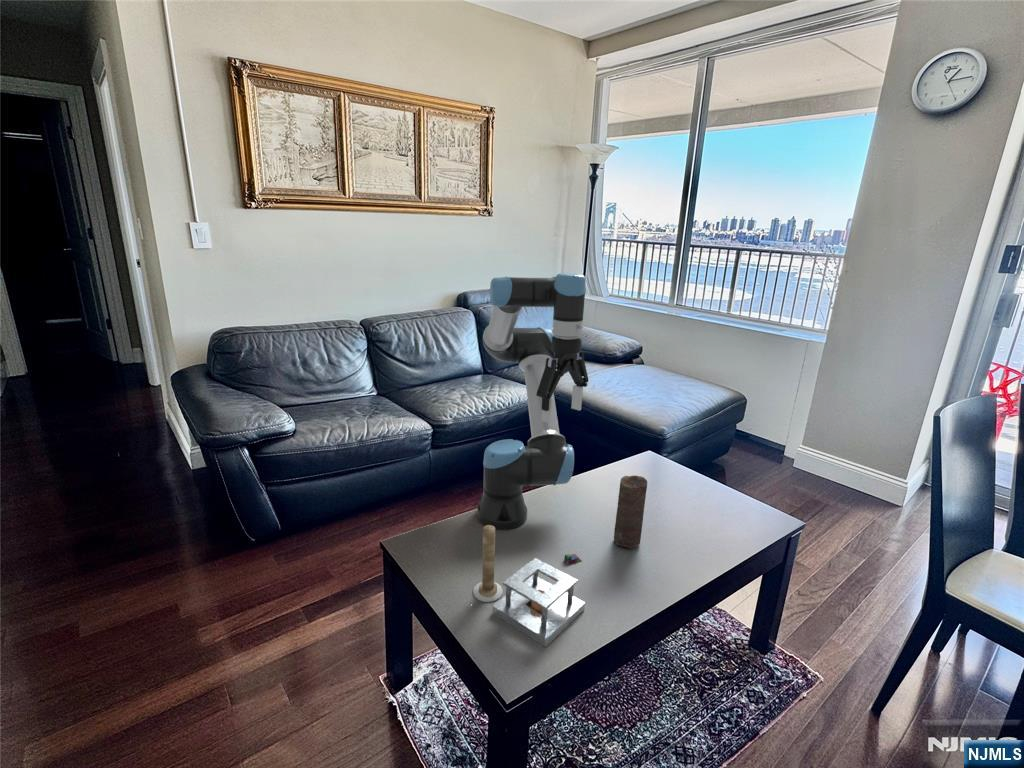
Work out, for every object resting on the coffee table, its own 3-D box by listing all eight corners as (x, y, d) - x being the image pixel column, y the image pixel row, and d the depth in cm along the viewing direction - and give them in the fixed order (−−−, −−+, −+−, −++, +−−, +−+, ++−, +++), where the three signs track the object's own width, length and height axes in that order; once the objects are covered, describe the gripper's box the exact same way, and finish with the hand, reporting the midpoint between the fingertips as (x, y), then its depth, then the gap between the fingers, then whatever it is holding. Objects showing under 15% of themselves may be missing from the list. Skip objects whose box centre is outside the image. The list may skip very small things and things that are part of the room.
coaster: (467, 592, 124) (467, 591, 124) (487, 578, 129) (487, 577, 129) (488, 606, 120) (488, 605, 120) (508, 591, 125) (508, 590, 125)
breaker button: (527, 610, 118) (528, 595, 117) (537, 602, 121) (538, 587, 120) (540, 618, 116) (541, 603, 115) (549, 609, 119) (550, 594, 118)
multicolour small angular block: (570, 567, 135) (571, 559, 135) (564, 561, 138) (564, 553, 137) (583, 563, 137) (584, 555, 137) (577, 557, 140) (577, 549, 139)
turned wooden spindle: (474, 591, 124) (475, 528, 119) (487, 582, 127) (488, 521, 122) (488, 599, 121) (489, 536, 116) (500, 590, 125) (502, 528, 120)
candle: (640, 553, 141) (648, 487, 136) (613, 549, 143) (619, 483, 137) (639, 537, 148) (646, 474, 143) (613, 534, 150) (619, 471, 144)
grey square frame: (492, 612, 118) (493, 582, 115) (533, 581, 129) (534, 552, 126) (545, 647, 109) (547, 614, 106) (584, 609, 120) (586, 579, 117)
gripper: (549, 345, 120) (545, 431, 126) (605, 332, 138) (598, 407, 144) (524, 340, 124) (521, 423, 130) (581, 328, 143) (576, 401, 149)
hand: (561, 415), depth 137 cm, fingers open, 13 cm apart
